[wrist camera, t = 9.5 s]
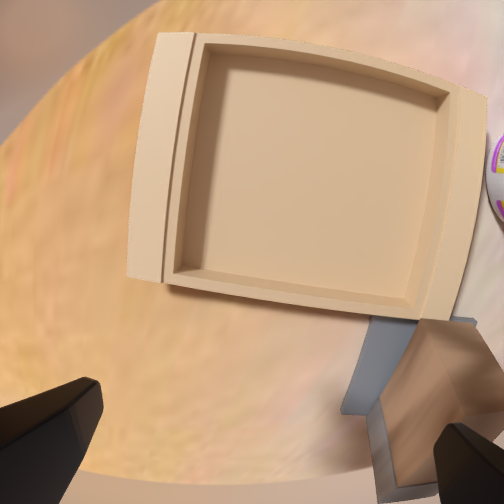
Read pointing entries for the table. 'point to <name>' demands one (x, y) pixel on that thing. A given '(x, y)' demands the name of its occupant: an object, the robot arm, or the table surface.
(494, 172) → the supplement bottle
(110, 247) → the table surface
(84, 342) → the table surface
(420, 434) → the box
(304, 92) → the tray
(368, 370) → the coaster
